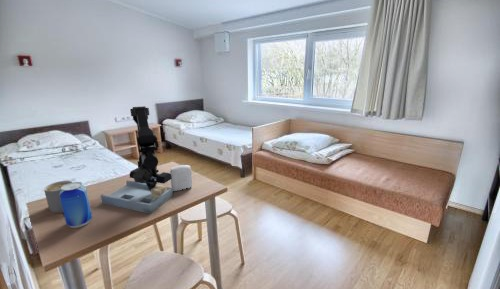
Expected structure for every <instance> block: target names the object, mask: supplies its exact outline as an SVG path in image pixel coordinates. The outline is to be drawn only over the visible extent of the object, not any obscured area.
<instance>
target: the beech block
mask: <svg viewBox="0 0 500 289" xmlns="http://www.w3.org/2000/svg"><path fill="white" fill-rule="evenodd" d="M156 185H157V186H155V187H154V188H152V189H151V196H152V198H157V197H159V196H160V195H162V194H163V193H164V192H166V191H167V187H168V185H162V184H156Z"/></svg>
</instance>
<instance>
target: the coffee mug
mask: <svg viewBox="0 0 500 289" xmlns="http://www.w3.org/2000/svg"><path fill="white" fill-rule="evenodd" d="M72 182H73V181H72V180H62V181H61V180H60V181H55V182H52V183H50V184H48V185H46V186H44V188H43V191H44V196H45V198H46V202H47V207H48V210H49V212H51V213H54V214H55V213H56V214H58V213H64V212H63V208H62V204H61V200H60V195H59V194H60V191H61V187H62V186H64V185H66V184H68V183H72Z"/></svg>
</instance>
